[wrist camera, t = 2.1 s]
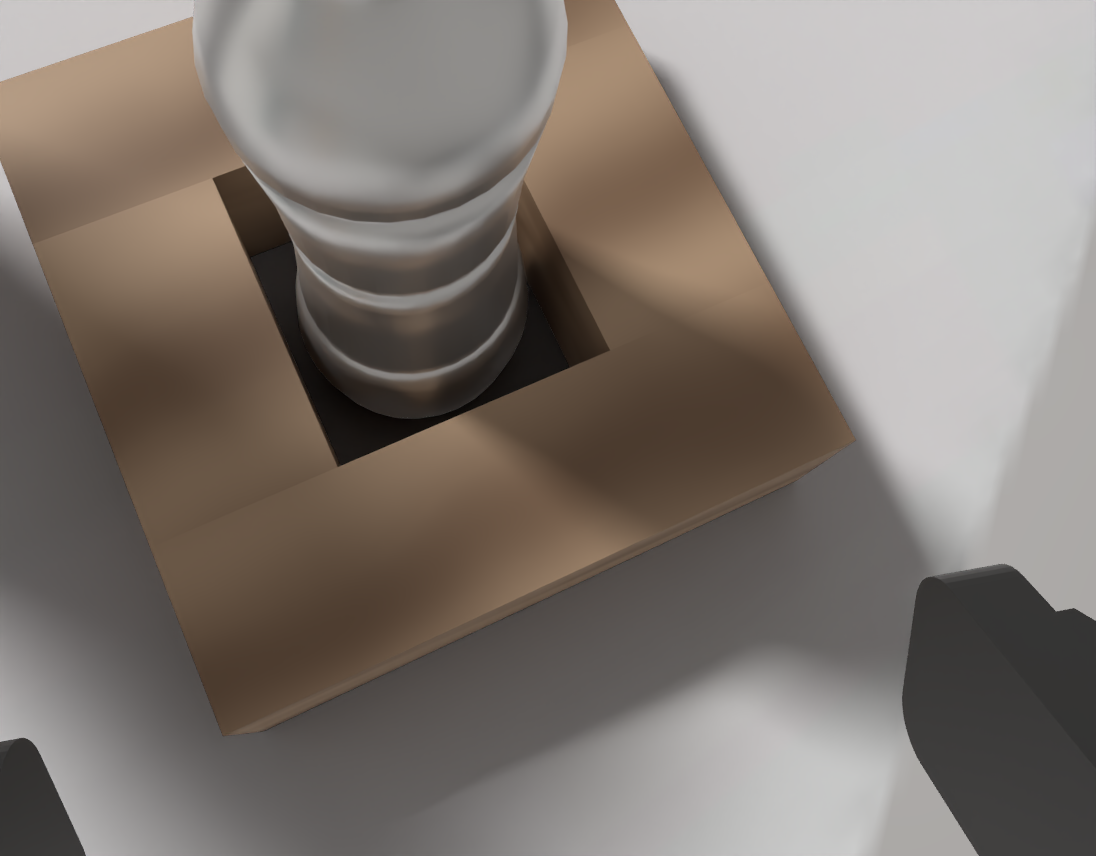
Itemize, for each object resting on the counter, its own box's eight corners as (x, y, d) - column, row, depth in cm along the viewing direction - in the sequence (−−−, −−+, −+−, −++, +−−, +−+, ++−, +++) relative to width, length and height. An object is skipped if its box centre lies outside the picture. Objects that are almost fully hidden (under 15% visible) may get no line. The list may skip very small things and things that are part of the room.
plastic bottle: (275, 395, 31) (-31, -109, 12) (359, 201, 33) (211, -509, 14) (480, 466, 31) (505, 76, 12) (552, 268, 33) (677, -350, 14)
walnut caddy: (46, 182, 32) (-27, 90, 28) (543, 4, 35) (556, -107, 31) (263, 731, 29) (222, 736, 24) (796, 480, 32) (855, 440, 27)
